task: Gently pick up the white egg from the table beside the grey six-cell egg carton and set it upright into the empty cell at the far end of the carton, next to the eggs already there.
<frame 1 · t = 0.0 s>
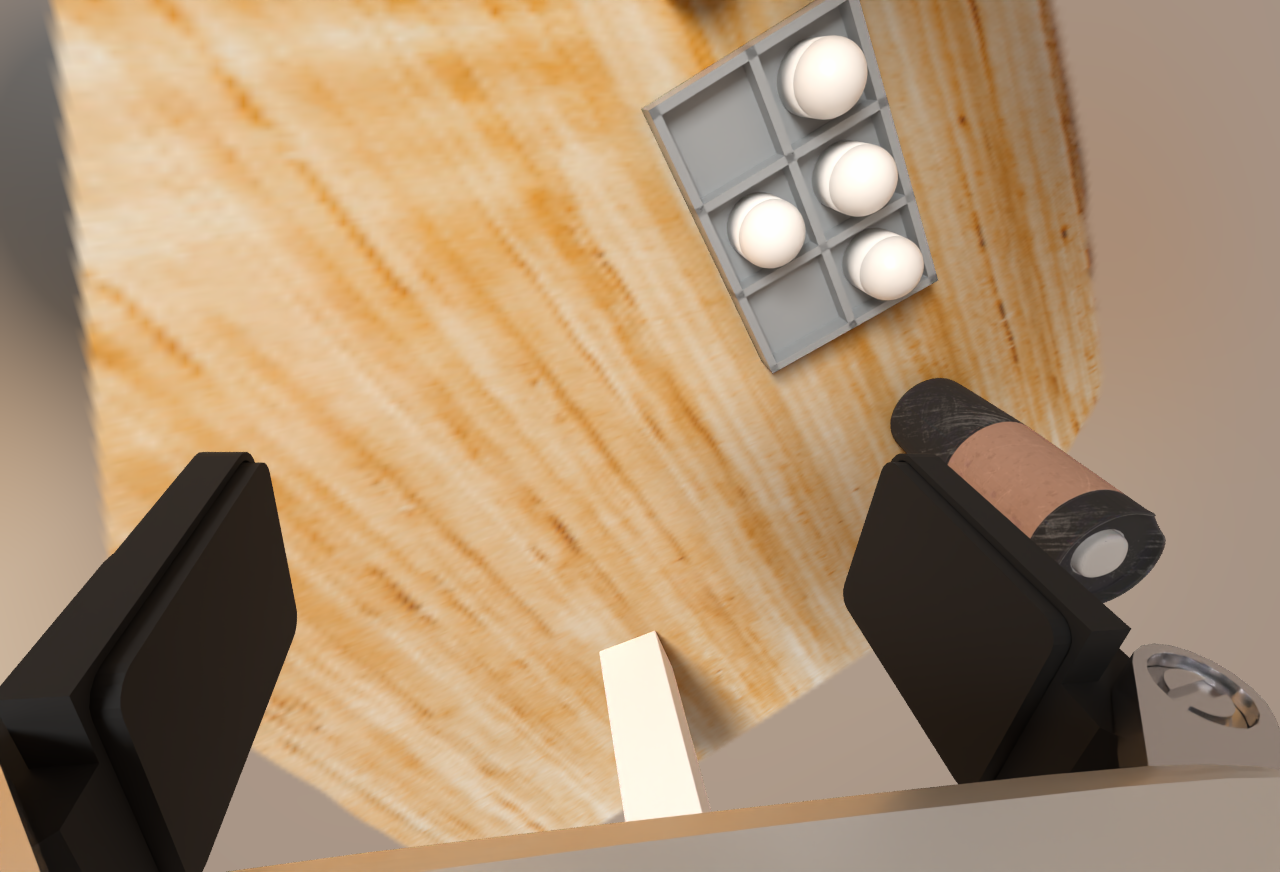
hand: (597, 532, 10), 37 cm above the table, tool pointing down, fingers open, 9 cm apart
travel mug: (926, 413, 57), on the table
carton: (793, 198, 45), on the table
milk: (636, 657, 65), on the table
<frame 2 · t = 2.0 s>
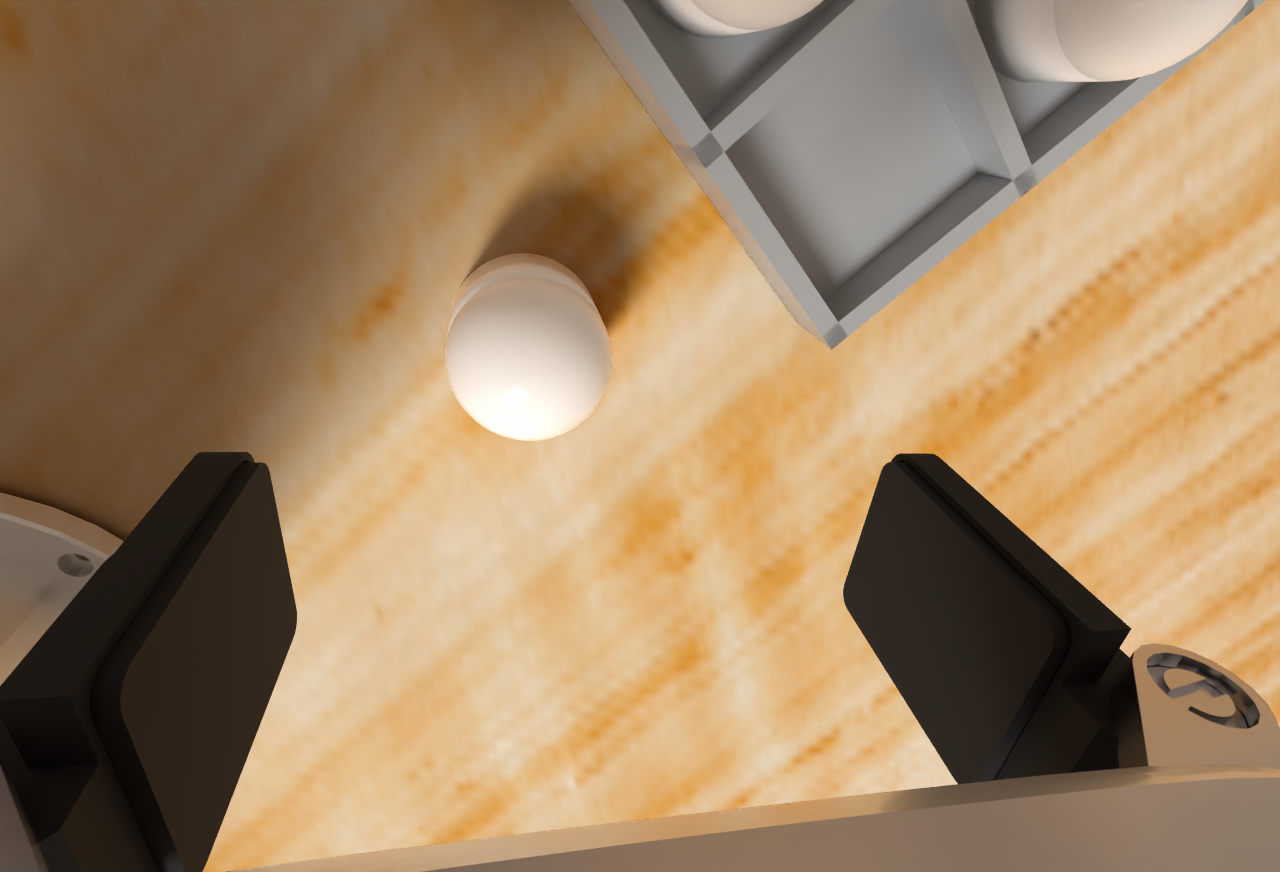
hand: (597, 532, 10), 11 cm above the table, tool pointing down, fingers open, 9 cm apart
egg: (525, 325, 20), on the table
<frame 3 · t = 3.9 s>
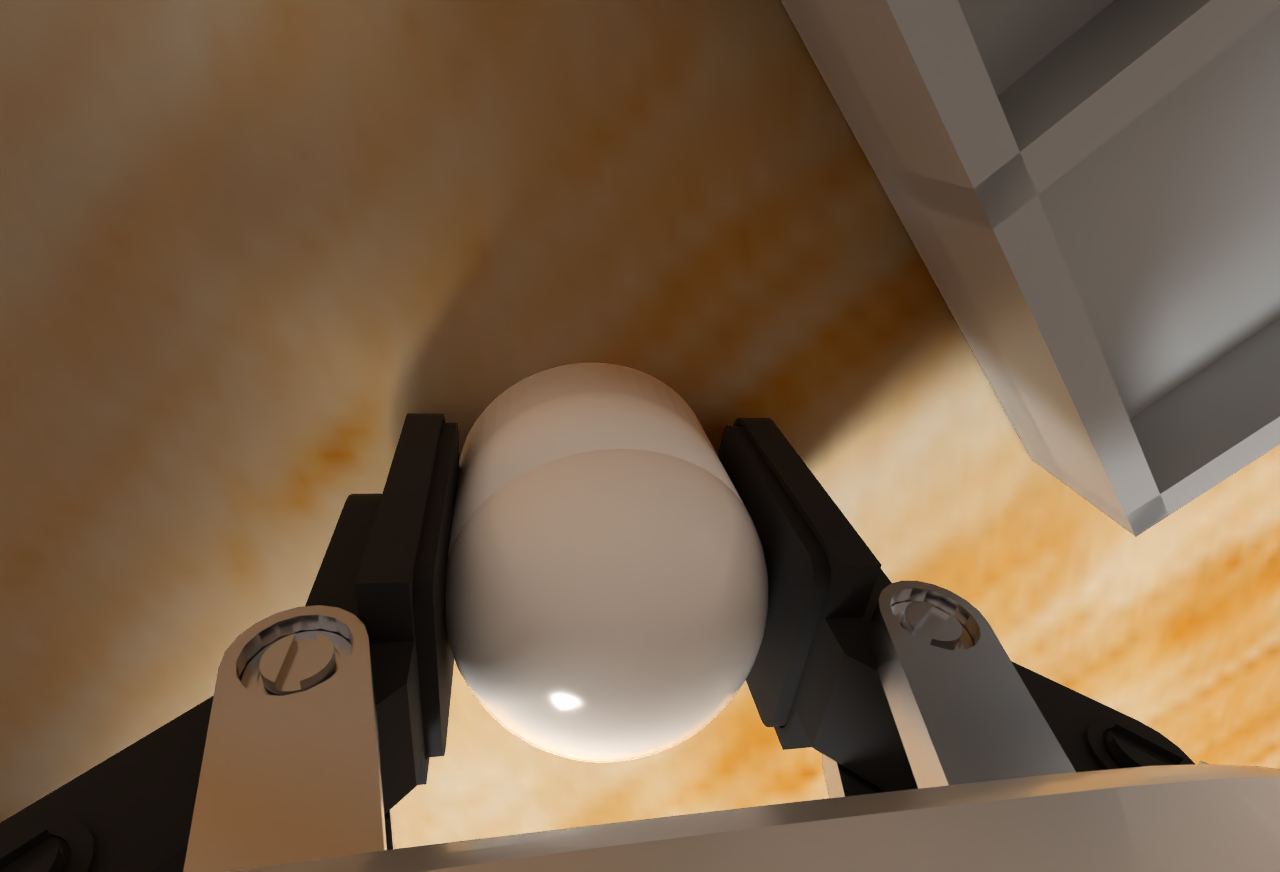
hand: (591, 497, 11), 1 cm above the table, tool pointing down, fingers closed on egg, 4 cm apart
egg: (587, 477, 11), on the table, touching gripper
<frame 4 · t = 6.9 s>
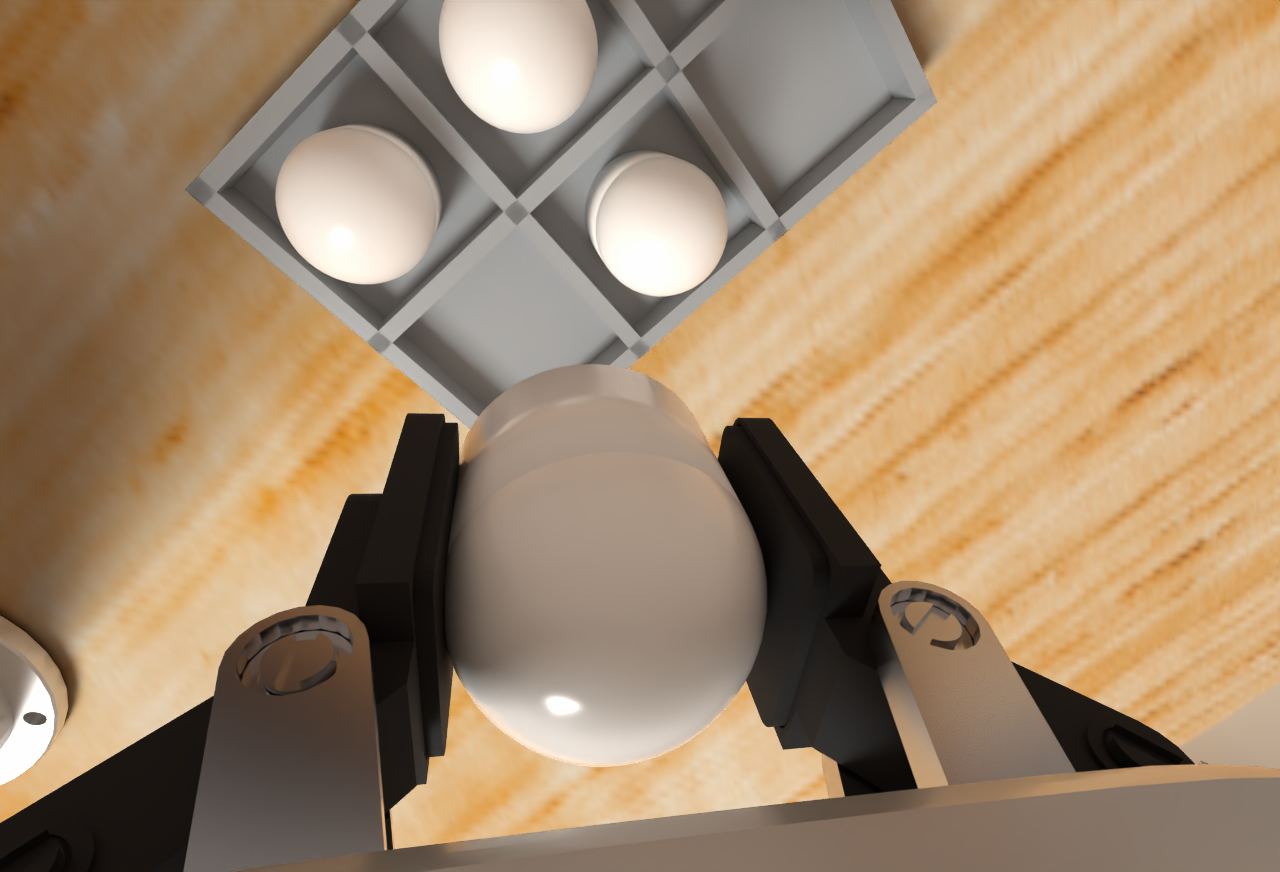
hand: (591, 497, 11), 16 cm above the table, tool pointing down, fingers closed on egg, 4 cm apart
carton: (581, 137, 23), on the table
egg: (586, 480, 11), point 16 cm above the table, touching gripper
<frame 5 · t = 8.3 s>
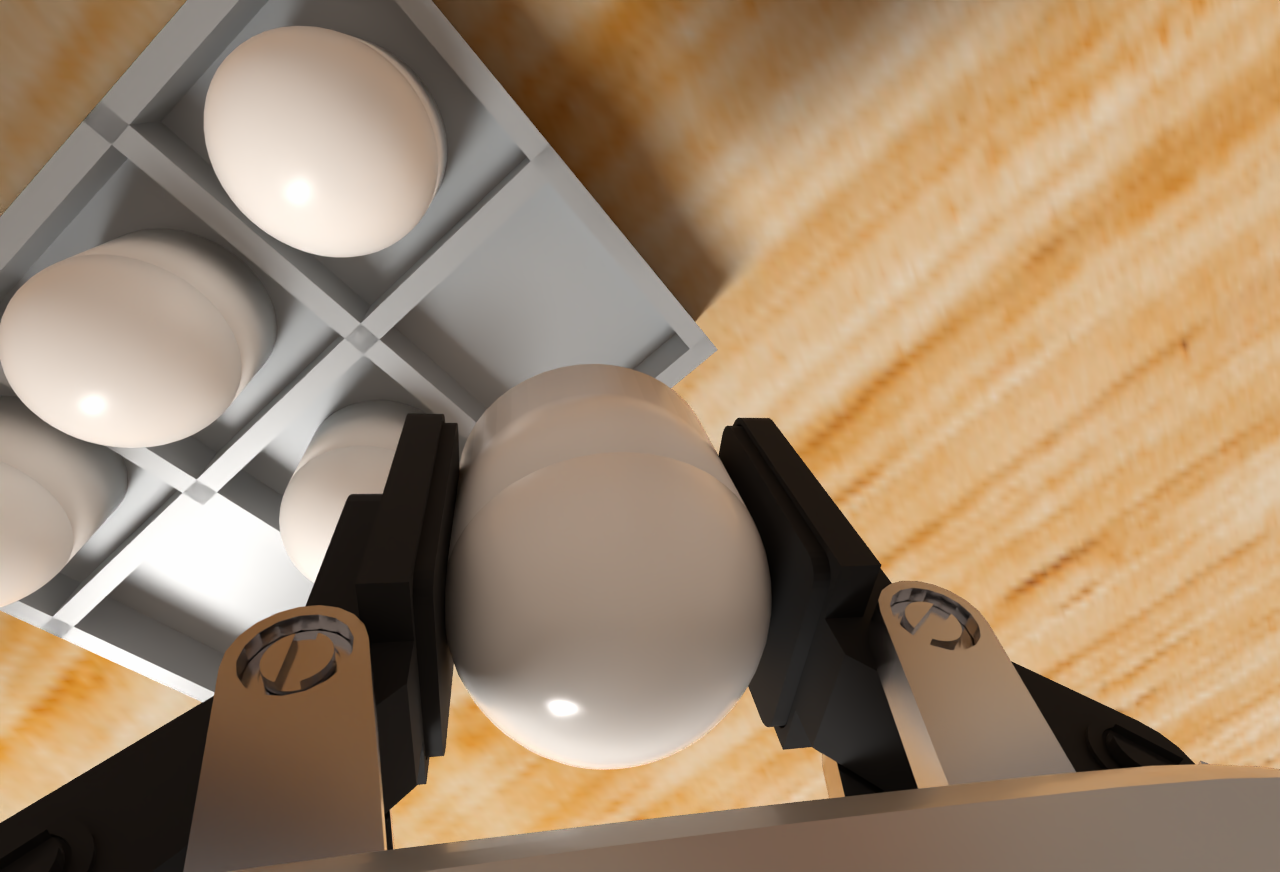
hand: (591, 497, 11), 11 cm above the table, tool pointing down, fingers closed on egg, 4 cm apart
carton: (302, 381, 20), on the table
egg: (588, 480, 11), point 10 cm above the table, touching gripper
when the fingers open (3 cm above the table, at t = 9.7 s): egg drops 1 cm, resting on carton.
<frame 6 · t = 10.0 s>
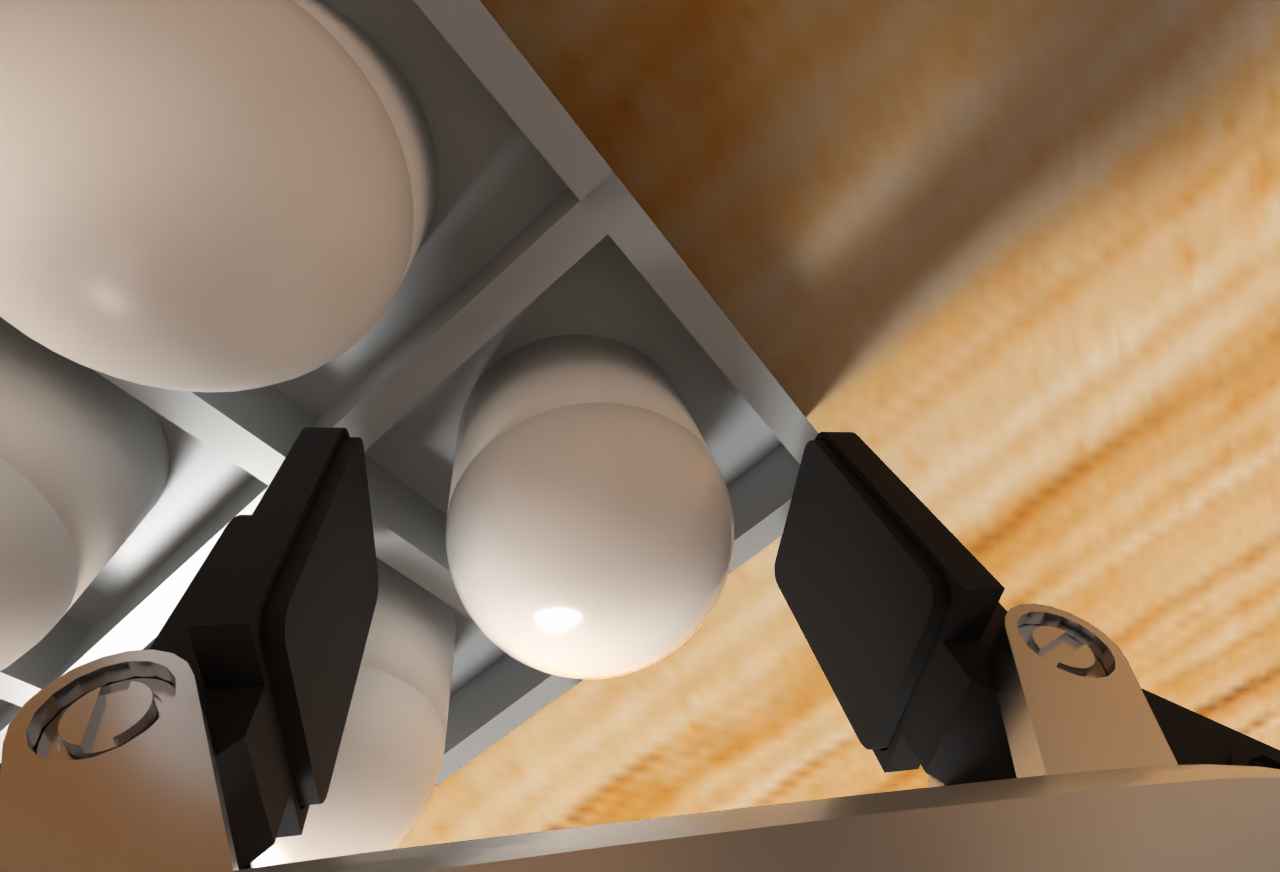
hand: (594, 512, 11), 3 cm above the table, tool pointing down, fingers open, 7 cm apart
carton: (224, 515, 13), on the table
egg: (575, 442, 13), point 1 cm above the table, touching carton
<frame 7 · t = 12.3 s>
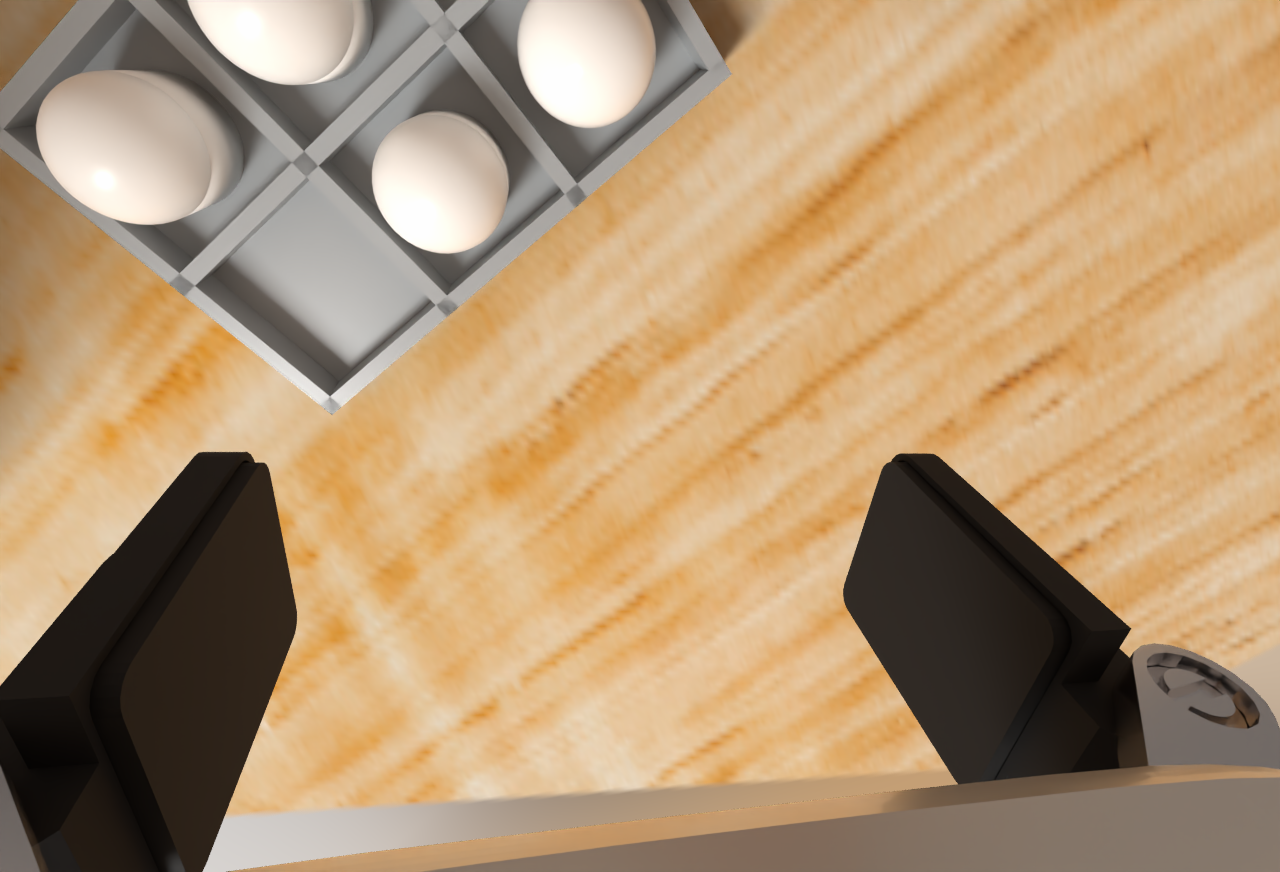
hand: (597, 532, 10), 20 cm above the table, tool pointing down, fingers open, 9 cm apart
carton: (387, 95, 24), on the table
egg: (582, 51, 23), point 1 cm above the table, touching carton
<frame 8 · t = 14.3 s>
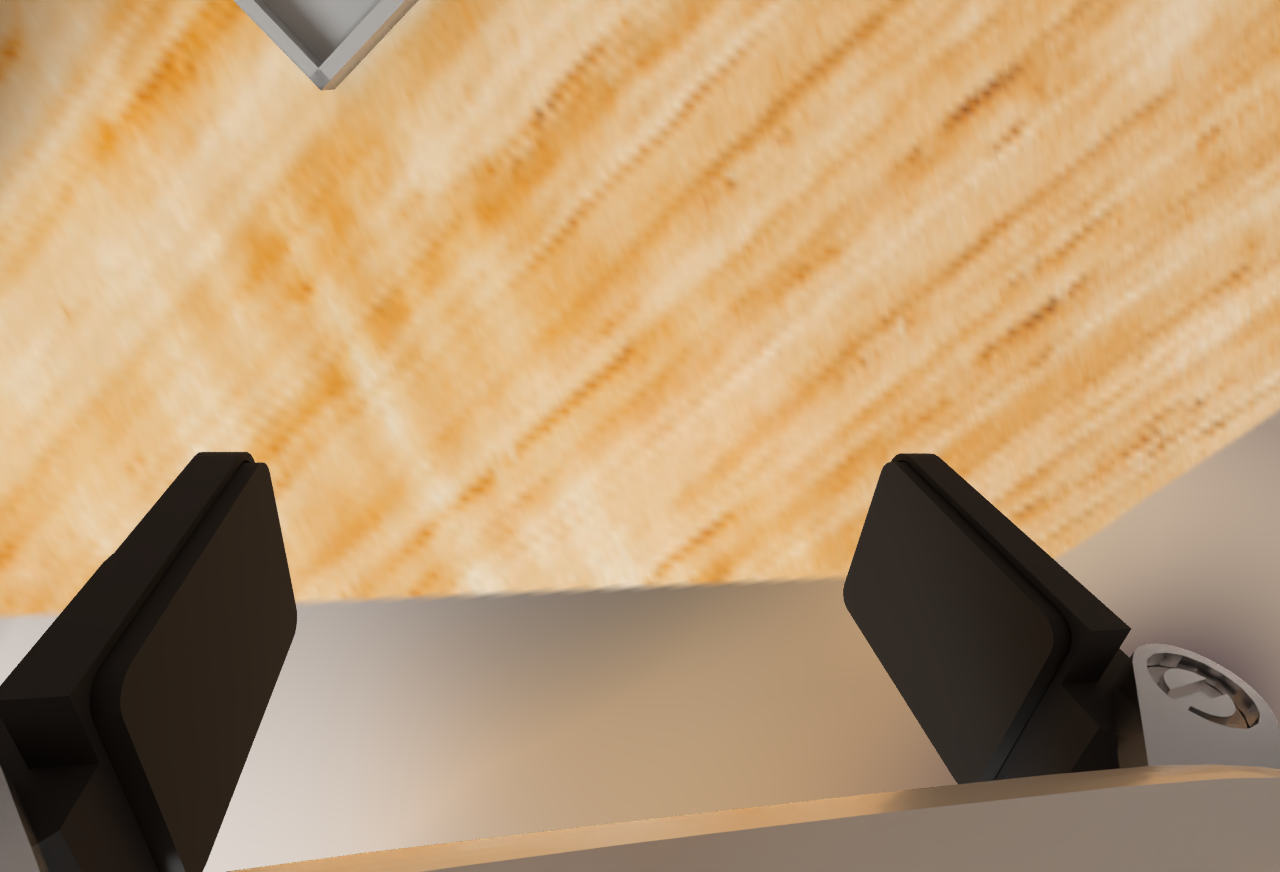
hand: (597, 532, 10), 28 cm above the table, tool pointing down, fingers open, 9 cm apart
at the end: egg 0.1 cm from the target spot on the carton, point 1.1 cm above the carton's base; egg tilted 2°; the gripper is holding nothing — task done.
